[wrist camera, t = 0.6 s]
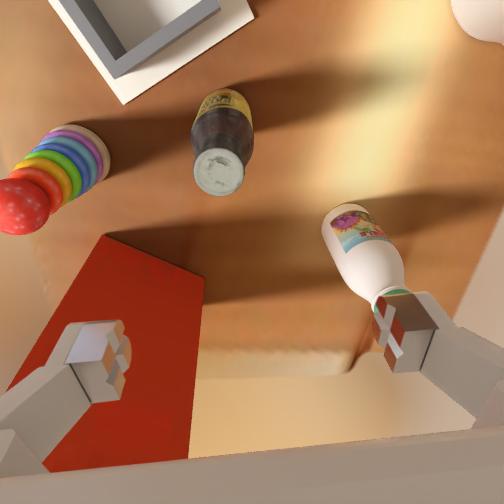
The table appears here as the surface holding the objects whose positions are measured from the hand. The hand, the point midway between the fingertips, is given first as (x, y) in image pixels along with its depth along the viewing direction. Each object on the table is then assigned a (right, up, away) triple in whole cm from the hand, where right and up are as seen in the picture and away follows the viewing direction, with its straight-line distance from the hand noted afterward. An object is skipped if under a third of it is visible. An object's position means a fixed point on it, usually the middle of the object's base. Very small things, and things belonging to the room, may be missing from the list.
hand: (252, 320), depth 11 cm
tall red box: (-17, -1, +44) cm, 48 cm away
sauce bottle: (-3, +20, +31) cm, 37 cm away
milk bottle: (+14, +7, +41) cm, 44 cm away
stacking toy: (-23, +15, +33) cm, 43 cm away
